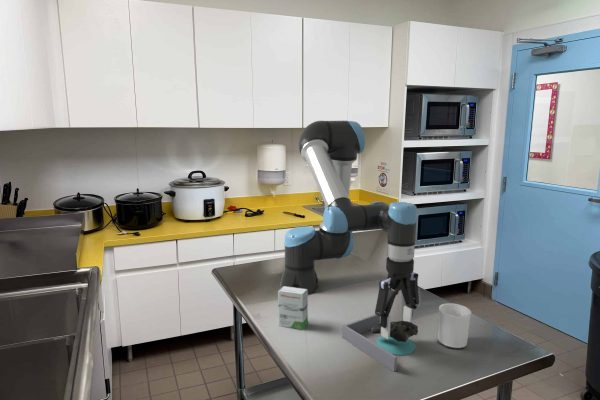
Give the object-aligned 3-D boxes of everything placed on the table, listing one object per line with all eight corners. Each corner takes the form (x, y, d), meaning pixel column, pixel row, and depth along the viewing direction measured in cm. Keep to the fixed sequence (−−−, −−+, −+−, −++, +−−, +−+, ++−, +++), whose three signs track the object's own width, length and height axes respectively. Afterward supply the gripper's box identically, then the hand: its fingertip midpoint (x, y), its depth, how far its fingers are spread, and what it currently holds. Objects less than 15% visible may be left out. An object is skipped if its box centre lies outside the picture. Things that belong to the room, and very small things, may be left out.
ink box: (308, 323, 134) (308, 288, 132) (303, 330, 130) (303, 294, 127) (283, 319, 137) (283, 284, 135) (277, 325, 132) (277, 290, 130)
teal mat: (368, 342, 123) (368, 341, 123) (394, 331, 129) (394, 330, 129) (396, 359, 114) (396, 358, 114) (423, 347, 120) (423, 346, 120)
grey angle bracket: (342, 337, 125) (342, 325, 125) (377, 324, 134) (378, 312, 133) (393, 371, 109) (394, 357, 108) (431, 354, 117) (432, 341, 116)
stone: (373, 327, 127) (374, 310, 126) (418, 335, 122) (419, 318, 121) (368, 337, 121) (369, 320, 120) (415, 346, 116) (416, 328, 115)
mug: (465, 353, 117) (468, 319, 115) (433, 344, 122) (435, 312, 120) (472, 337, 126) (475, 305, 124) (442, 329, 131) (444, 298, 129)
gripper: (383, 268, 108) (379, 349, 112) (435, 254, 120) (430, 327, 124) (363, 260, 114) (360, 337, 118) (414, 248, 126) (410, 318, 130)
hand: (396, 332), depth 121 cm, fingers closed on stone, 8 cm apart
